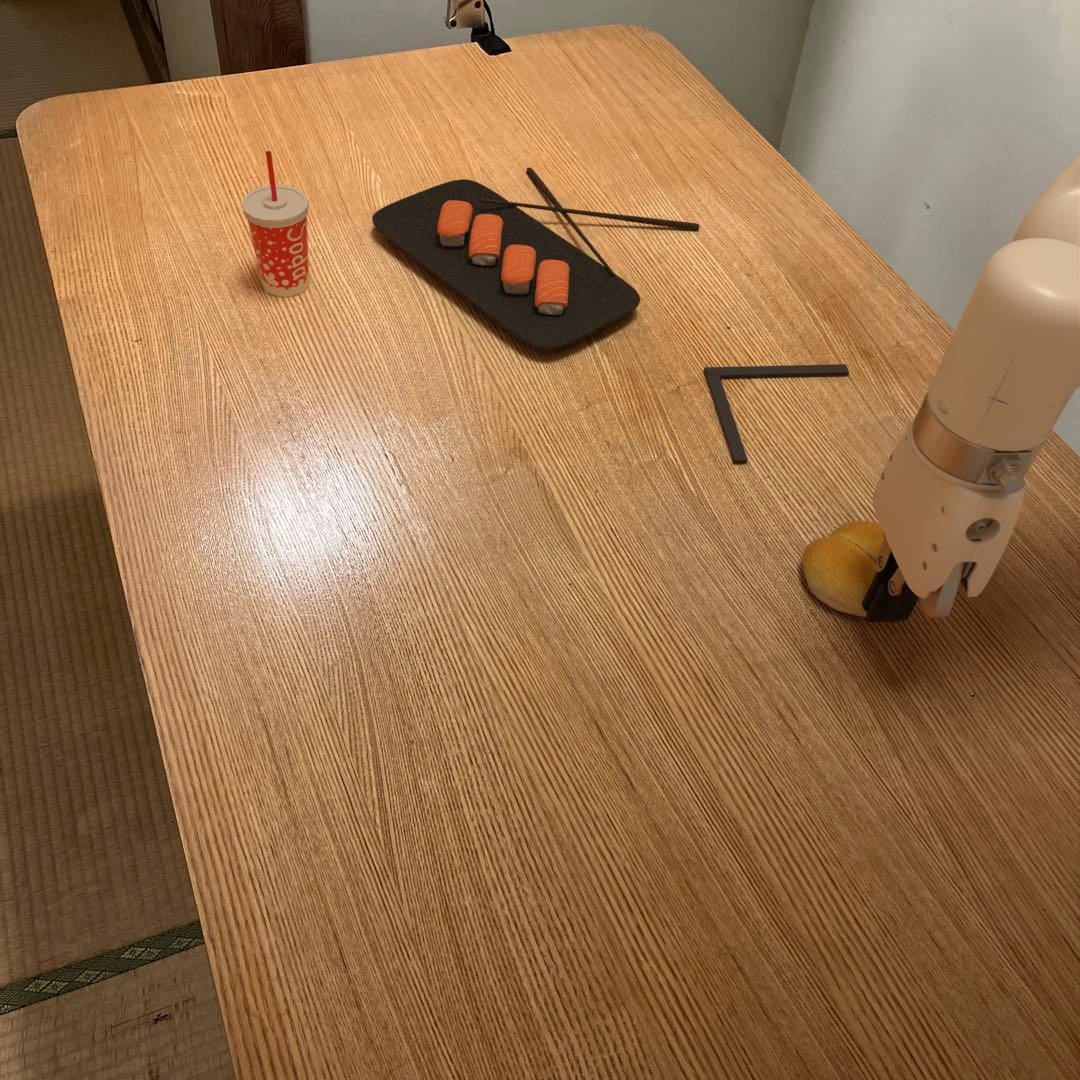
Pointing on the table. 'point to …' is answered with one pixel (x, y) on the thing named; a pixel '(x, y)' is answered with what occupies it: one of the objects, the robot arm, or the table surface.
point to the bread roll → (844, 565)
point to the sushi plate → (512, 260)
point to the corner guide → (719, 373)
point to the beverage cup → (279, 235)
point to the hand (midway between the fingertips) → (883, 612)
